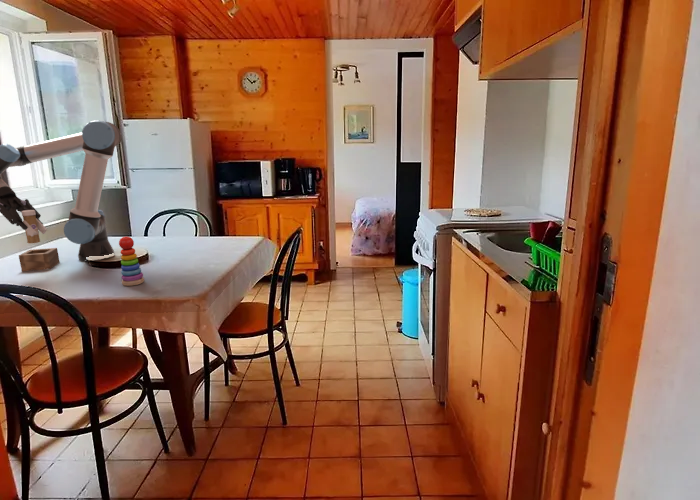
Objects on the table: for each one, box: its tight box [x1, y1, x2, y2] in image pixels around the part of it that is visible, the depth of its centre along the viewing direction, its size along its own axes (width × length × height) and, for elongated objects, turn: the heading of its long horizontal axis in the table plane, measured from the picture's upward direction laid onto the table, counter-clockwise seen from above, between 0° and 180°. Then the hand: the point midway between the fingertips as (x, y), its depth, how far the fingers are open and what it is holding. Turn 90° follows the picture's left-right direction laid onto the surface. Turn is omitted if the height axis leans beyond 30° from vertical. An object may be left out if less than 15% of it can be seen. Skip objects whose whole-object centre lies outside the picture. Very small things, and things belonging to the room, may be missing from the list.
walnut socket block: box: [18, 247, 61, 272], centre depth 196 cm, size 11×11×7 cm
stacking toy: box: [118, 236, 145, 287], centre depth 169 cm, size 8×8×19 cm
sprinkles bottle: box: [21, 210, 41, 244], centre depth 181 cm, size 5×5×13 cm
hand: (39, 232), depth 181 cm, fingers closed on sprinkles bottle, 4 cm apart
